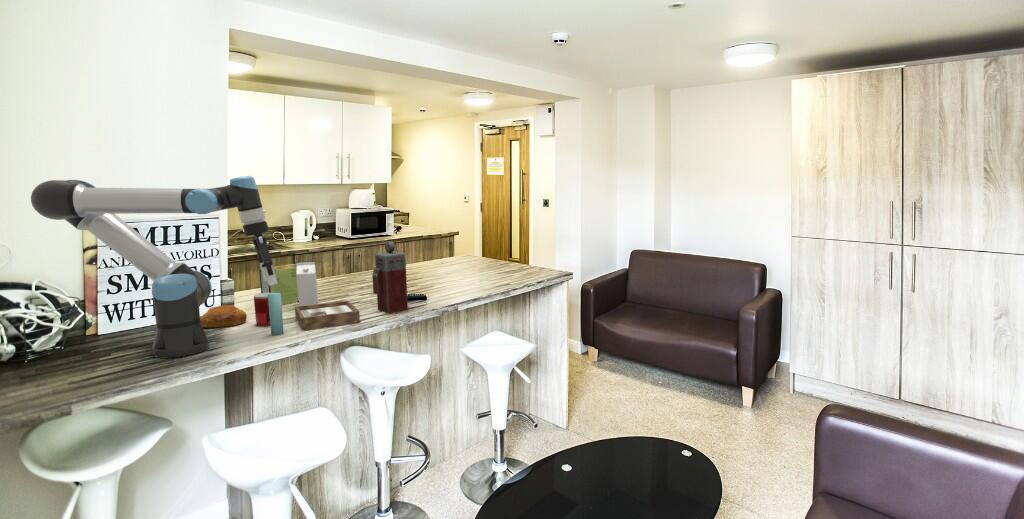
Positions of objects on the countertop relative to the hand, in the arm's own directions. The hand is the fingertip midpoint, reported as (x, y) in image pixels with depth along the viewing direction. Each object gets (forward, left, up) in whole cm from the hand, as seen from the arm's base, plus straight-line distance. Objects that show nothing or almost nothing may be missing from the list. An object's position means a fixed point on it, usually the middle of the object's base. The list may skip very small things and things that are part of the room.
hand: (271, 282), depth 183 cm
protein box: (+8, +49, -18) cm, 53 cm away
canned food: (-1, +13, -18) cm, 22 cm away
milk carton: (+16, +32, -18) cm, 40 cm away
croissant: (-16, +22, -18) cm, 32 cm away
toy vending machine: (+44, +9, -18) cm, 48 cm away
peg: (+1, -3, -18) cm, 18 cm away
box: (+19, +6, -18) cm, 26 cm away
